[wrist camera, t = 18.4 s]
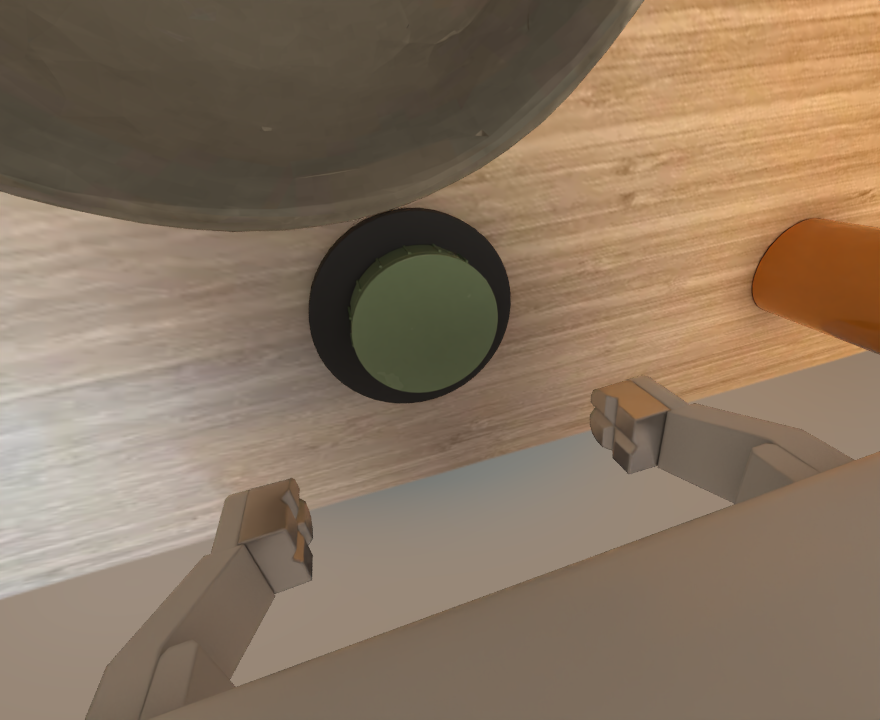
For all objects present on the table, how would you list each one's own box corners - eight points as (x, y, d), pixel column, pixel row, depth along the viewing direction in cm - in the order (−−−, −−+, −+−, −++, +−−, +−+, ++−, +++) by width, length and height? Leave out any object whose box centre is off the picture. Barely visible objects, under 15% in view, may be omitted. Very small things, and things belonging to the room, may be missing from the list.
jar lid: (375, 221, 17) (381, 229, 15) (506, 271, 20) (523, 283, 18) (330, 357, 19) (331, 376, 18) (452, 385, 22) (463, 404, 20)
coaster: (477, 399, 24) (482, 407, 23) (301, 391, 21) (301, 399, 20) (529, 229, 20) (536, 232, 19) (318, 186, 17) (318, 188, 16)
